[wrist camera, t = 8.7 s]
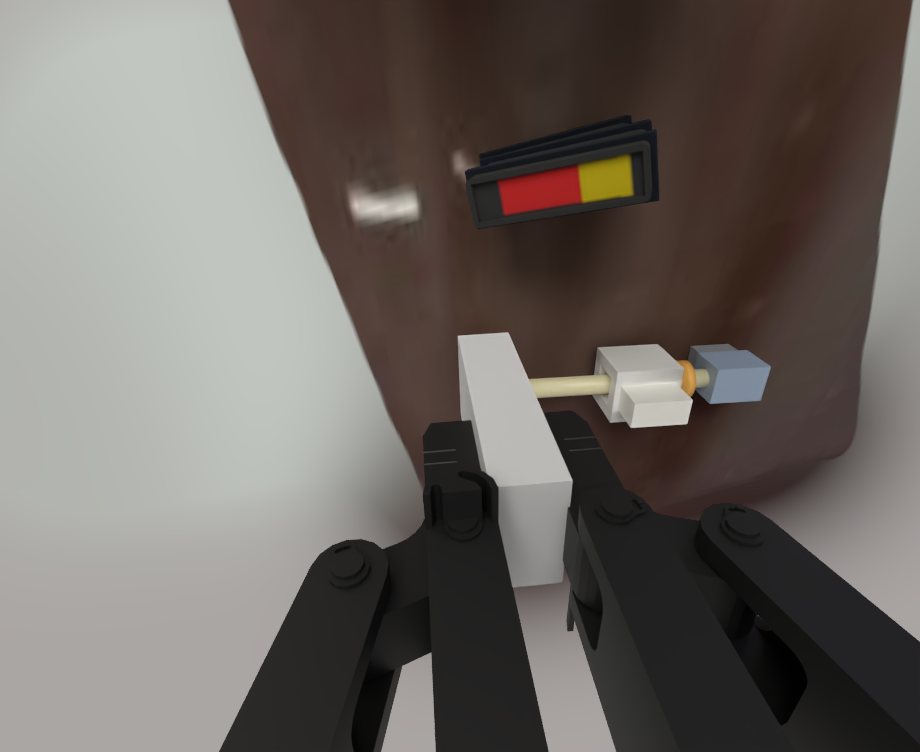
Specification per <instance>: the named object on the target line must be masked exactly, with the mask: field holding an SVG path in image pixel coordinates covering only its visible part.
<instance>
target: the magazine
mask: <svg viewBox="0 0 920 752" xmlns="http://www.w3.org/2000/svg"><path fill="white" fill-rule="evenodd" d="M479 158H480V161H479V162H480V166H481V167H476V168H471V169H468V170H467V171H465V175H466V180H467V181H466V189H467V194H468V198H469V203H470V207H471V211H472V216H473V220H474V224H475V226H476V227H477V229H482V228H489V227H495V226H501V225H508V224H514V223H520V222H527V221H533V220H539V219H546V218H552V217H558V216H565V215H571V214H577V213H584V212H590V211H596V210H602V209H609V208H615V207H621V206H628V205H634V204H640V203H647V202H653V201H658V200H659V178H658V154H657V131H656V130H655V129H654V130H652V123H651V121H650V120H644V121H639V122H635V123H632V122H631V116H630V115H624V116H621V117H617V118H613V119H609V120H605V121H602V122H598V123H594V124H590V125H587V126H583V127H579V128H575V129H572V130H568V131H564V132H560V133H557V134H553V135H549V136H545V137H542V138H538V139H534V140H530V141H527V142H523V143H519V144H515V145H511V146H508V147H504V148H500V149H496V150H493V151H489V152H485V153H481V154H479Z"/></svg>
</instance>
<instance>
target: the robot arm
mask: <svg viewBox="0 0 920 752" xmlns="http://www.w3.org/2000/svg"><path fill="white" fill-rule="evenodd" d="M458 354H459V380H460V405H461V418H462V421H453V422H440V423H431V424H430V426H429V427H428V429H427V431H426V432H425V434H424V436H423V448H424V471H425V488H424V492H423V502H424V513H425V519H424V521H423V523H422V525H421V527H420V528H419V529H418V530H417V531H416V533H414V534H413V535H412V536H410V537H409V538H408V539H406V540H404V541H402V542H400V543H398V544H395V545H393V546H390V547H387V548H385V549H381V548H380V547H379V546H378V545H376V544H375V543H373V542H369V541H366V540H362V539H359V540H346V541H343V542H340V543H338V544H335V545H332V546H331V547H330V548H328V549H327V550H325V551H324V552H322V553H321V554H320V555H319V556H318V557H317V559H316V560H315V561H314V563H313V564H312V566H311V567H310V569H309V571H308V573H307V575H306V577H305V579H304V581H303V583H302V585H301V587H300V589H299V592H298V593H297V596H296V598H295V600H294V602H293V604H292V606H291V608H290V610H289V612H288V614H287V616H286V618H285V620H284V622H283V624H282V626H281V628H280V630H279V632H278V634H277V636H276V638H275V640H274V642H273V644H272V646H271V648H270V650H269V652H268V654H267V656H266V658H265V660H264V662H263V664H262V666H261V668H260V670H259V672H258V674H257V676H256V678H255V680H254V682H253V685H252V687H251V688H250V690H249V693H248V695H247V696H246V699H245V701H244V702H243V704H242V707H241V709H240V710H239V713H238V715H237V717H236V719H235V721H234V723H233V725H232V727H231V729H230V731H229V733H228V735H227V737H226V739H225V741H224V743H223V745H222V747H221V749H220V751H219V752H381V749H382V745H383V741H384V737H385V733H386V729H387V725H388V721H389V717H390V713H391V709H392V705H393V701H394V697H395V693H396V689H397V684H398V681H399V677H400V673H401V669H402V666H403V665H405V664H407V663H409V662H411V661H413V660H415V659H418V658H420V657H422V656H424V655H426V654H428V653H431V652H432V674H433V695H434V718H435V741H436V752H548V747H547V743H546V738H545V733H544V729H543V725H542V720H541V715H540V711H539V706H538V701H537V697H536V692H535V688H534V683H533V678H532V674H531V669H530V665H529V660H528V655H527V651H526V647H525V642H524V637H523V633H522V628H521V623H520V619H519V614H518V610H517V605H516V601H515V596H514V591H513V587H522V586H532V585H541V584H551V583H561V582H563V572H564V565H565V568H566V571H567V574H568V577H569V580H570V583H571V587H570V595H569V604H568V614H567V630H568V631H573V626H574V620H575V623H576V626H577V629H578V632H579V635H580V639H581V642H582V645H583V648H584V651H585V654H586V658H587V661H588V664H589V667H590V670H591V673H592V676H593V680H594V683H595V686H596V689H597V692H598V695H599V698H600V702H601V704H602V708H603V711H604V714H605V717H606V720H607V724H608V727H609V730H610V733H611V736H612V739H613V743H614V746H615V749H616V752H920V642H919V641H918V640H917V639H916V638H914V637H913V636H912V635H911V634H910V633H908V632H907V631H906V630H905V629H903V628H902V627H901V626H900V625H898V624H897V623H896V622H895V621H894V620H892V619H891V618H890V617H889V616H888V615H886V614H885V613H884V612H883V611H881V610H880V609H879V608H878V607H876V606H875V605H874V604H873V603H872V602H870V601H869V600H868V599H867V598H866V597H864V596H863V595H862V594H861V593H860V592H858V591H857V590H856V589H855V588H853V587H852V586H851V585H850V584H849V583H847V582H846V581H845V580H844V579H842V578H841V577H840V576H839V575H837V574H836V573H835V572H834V571H833V570H831V569H830V568H829V567H828V566H827V565H825V564H824V563H823V562H822V561H820V560H819V559H818V558H817V557H816V556H814V555H813V554H812V553H811V552H809V551H808V550H807V549H806V548H805V547H803V546H802V545H801V544H800V543H798V542H797V541H796V540H795V539H793V538H792V537H791V536H790V535H789V534H788V533H786V532H785V531H784V530H783V529H781V528H780V527H779V526H778V525H777V524H775V523H774V522H773V521H772V520H770V519H769V518H767V517H766V516H764V515H763V514H761V513H759V512H758V511H756V510H753V509H750V508H748V507H745V506H742V505H737V504H730V503H721V504H714V505H712V506H710V507H708V508H706V509H705V510H704V511H703V513H702V515H701V518H700V521H697V520H691V519H684V518H677V517H671V516H666V515H662V514H658V513H655V512H653V511H652V509H651V508H650V506H649V505H648V504H647V503H646V502H645V501H644V500H643V499H642V498H641V497H639V496H637V495H636V494H634V493H632V492H630V491H627V490H625V489H624V487H623V486H622V484H621V482H620V480H619V478H618V477H617V475H616V473H615V471H614V470H613V468H612V466H611V464H610V462H609V461H608V459H607V457H606V455H605V453H604V452H603V450H602V449H601V448H600V444H599V443H598V441H597V439H596V438H594V434H593V432H592V430H591V428H590V427H589V425H588V423H587V421H585V420H584V419H583V418H581V417H580V416H579V415H577V414H576V413H575V412H573V411H561V412H548V413H543V411H542V409H541V407H540V404H539V402H538V400H537V397H536V395H535V393H534V390H533V388H532V386H531V384H530V381H529V379H528V377H527V374H526V372H525V370H524V367H523V365H522V363H521V361H520V358H519V356H518V354H517V351H516V349H515V347H514V344H513V342H512V340H511V338H510V335H509V333H508V332H507V333H492V334H478V335H463V336H458Z"/></svg>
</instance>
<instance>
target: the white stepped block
mask: <svg viewBox="0 0 920 752" xmlns="http://www.w3.org/2000/svg"><path fill="white" fill-rule="evenodd" d="M683 372H684V368H683V367H682V366H681V365H680V364H679V363H678V362H677V361H676V360H675V359H673V358H672V357H671V356H670V355H669V354H668V353H667V352H666V351H665V350H664V349H663V348H662V347H660V346H659V345H658V344H650V345H632V346H614V347H597V355H596V363H595V371H594V375H605V374H608V375H609V376H610V377H611V382H610V389H609V394H593V395H592V396H593V397H594V399H595V400H596V402H597V403H598V405H599V406H600V408H601V409H602V411H603V413H604V414H605V416H606V417H607V419H608V420H609V422H610V423H613V422H627V423H628V425H629V426H630V428H638V427H652V426H667V425H681V424H687V423H688V419H689V415H690V410H691V406H692V402H693V400H692V399H691V398H690V397H689V396H688V395H687V394H686V393H685V392H684V391H683V390H682V389H681V388H680V386H681V381H682V377H683Z"/></svg>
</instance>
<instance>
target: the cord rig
mask: <svg viewBox="0 0 920 752" xmlns="http://www.w3.org/2000/svg"><path fill="white" fill-rule="evenodd" d="M677 362H678V363H679V364H680V365H681V366H682V367H683V368H684V372H683V377H682V381H681V386H680V388H681V389H682V390H683V391H684V392H685V393H686V394H687V395H688V396H689V397H691V396H692V395H693V394H694V392H695V390H696V391H697V392H698V393H699V394H700V395H701V396H702V397H703V398H704V399H705V400H706V401H707V402H708V403H709V404H717V403H732V402H747V401H760V400H761V397H762V394H763V391H764V388H765V384H766V381H767V378H768V375H769V372H770V369H771V366H769V365H768V364H766V363H765V362H764V361H762V360H761V359H759V358H758V357H756V356H755V355H754V354H752V353H751V352H749V351H748V350H740V351H738V350H736V349H735V348H734V347H732V346H731V345H730V344H717V345H699V346H691V348H690V352H689V357H688V361H687V360H680V361H677ZM529 381H530V384H531V386H532V388H533V390H534V393H535V395H536V397H537V398H546V397H561V396H577V395H593V394H609V389H610V382H611V377H610V376H609V375H608V374H605V375H589V376H572V377H555V378H539V379H529Z"/></svg>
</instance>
